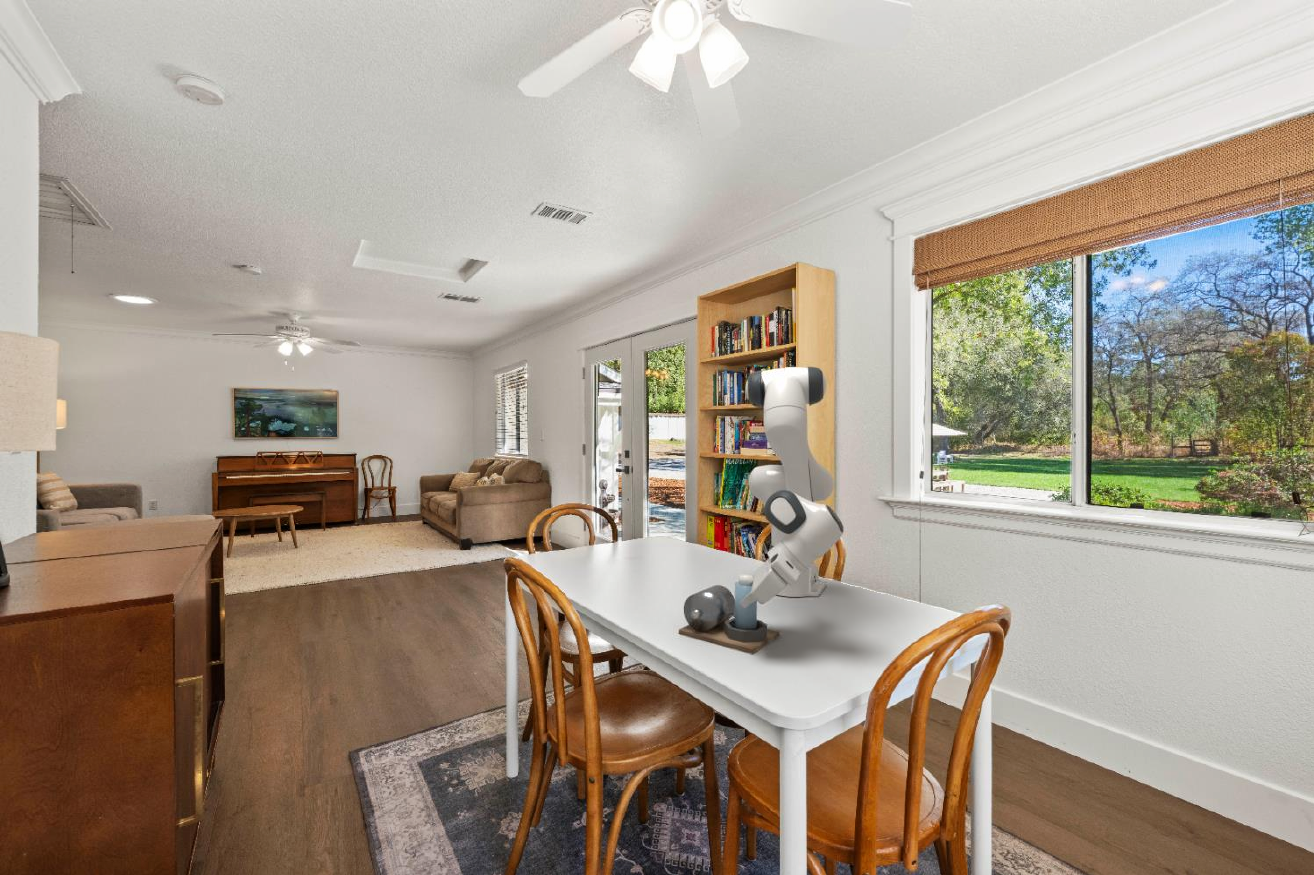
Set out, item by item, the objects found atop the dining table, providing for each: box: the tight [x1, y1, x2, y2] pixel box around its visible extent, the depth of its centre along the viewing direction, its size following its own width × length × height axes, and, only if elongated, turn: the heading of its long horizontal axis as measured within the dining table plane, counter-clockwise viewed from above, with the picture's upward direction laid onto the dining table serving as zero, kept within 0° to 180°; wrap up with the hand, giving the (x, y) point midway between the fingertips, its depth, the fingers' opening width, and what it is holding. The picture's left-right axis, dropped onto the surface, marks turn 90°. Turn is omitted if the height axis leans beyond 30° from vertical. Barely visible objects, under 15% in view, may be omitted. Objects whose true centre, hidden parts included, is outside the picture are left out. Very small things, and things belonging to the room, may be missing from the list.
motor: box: [683, 584, 735, 632], centre depth 137 cm, size 12×9×9 cm
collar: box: [725, 617, 767, 643], centre depth 132 cm, size 9×9×2 cm
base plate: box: [678, 619, 780, 655], centre depth 135 cm, size 14×20×1 cm
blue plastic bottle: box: [734, 573, 758, 630], centre depth 132 cm, size 5×5×12 cm
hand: (743, 600), depth 132 cm, fingers closed on blue plastic bottle, 5 cm apart
